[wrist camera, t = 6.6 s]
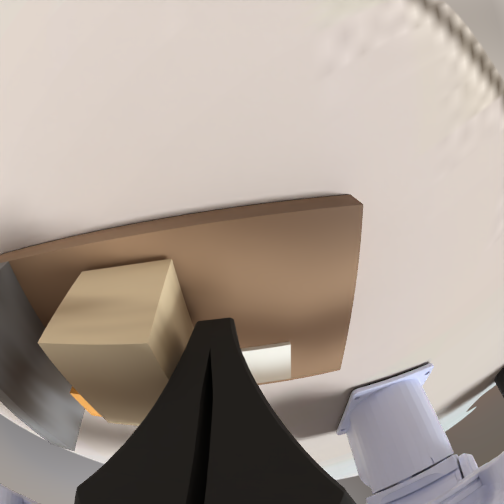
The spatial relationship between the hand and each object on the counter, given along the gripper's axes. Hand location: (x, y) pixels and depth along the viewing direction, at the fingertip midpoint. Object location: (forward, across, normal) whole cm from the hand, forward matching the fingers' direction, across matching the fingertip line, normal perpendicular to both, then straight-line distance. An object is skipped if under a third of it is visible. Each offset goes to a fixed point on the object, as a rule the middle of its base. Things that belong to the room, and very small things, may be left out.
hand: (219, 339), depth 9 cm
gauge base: (+3, +3, +2) cm, 5 cm away
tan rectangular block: (+2, +3, +1) cm, 4 cm away
